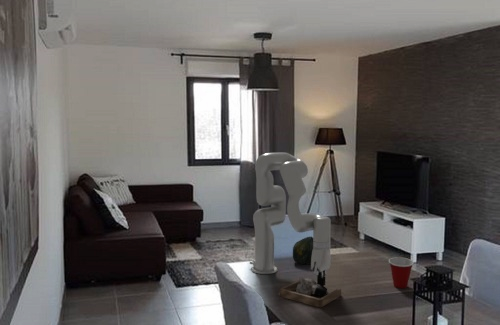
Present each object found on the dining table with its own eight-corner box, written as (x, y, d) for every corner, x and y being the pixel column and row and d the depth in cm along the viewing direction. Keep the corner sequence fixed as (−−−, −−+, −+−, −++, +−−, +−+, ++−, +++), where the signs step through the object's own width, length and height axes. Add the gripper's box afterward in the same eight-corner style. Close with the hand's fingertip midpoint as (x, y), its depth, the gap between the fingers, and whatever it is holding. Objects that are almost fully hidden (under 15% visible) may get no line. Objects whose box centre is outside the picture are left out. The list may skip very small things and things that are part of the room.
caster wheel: (327, 298, 201) (318, 302, 193) (304, 288, 207) (295, 292, 199) (331, 284, 201) (322, 287, 192) (308, 274, 207) (299, 277, 198)
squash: (282, 251, 248) (297, 233, 240) (301, 247, 258) (315, 230, 250) (297, 273, 241) (312, 256, 233) (315, 268, 251) (331, 251, 243)
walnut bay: (279, 296, 198) (279, 289, 197) (300, 285, 211) (300, 278, 211) (320, 307, 185) (321, 300, 185) (341, 295, 198) (341, 288, 198)
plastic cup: (386, 288, 207) (387, 262, 206) (389, 281, 217) (389, 256, 216) (412, 292, 203) (413, 265, 202) (413, 284, 213) (414, 258, 212)
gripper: (322, 240, 212) (322, 279, 213) (305, 246, 200) (305, 287, 202) (337, 242, 207) (336, 282, 209) (320, 249, 196) (320, 291, 197)
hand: (321, 285), depth 205 cm, fingers closed
